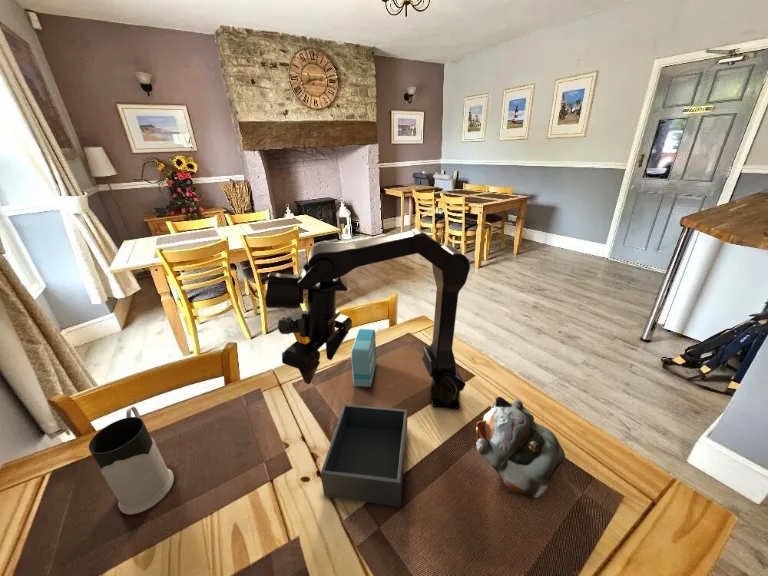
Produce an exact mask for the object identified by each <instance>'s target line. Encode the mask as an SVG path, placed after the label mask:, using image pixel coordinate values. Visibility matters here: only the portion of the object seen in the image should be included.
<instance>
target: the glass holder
mask: <svg viewBox="0 0 768 576" xmlns="http://www.w3.org/2000/svg"><path fill="white" fill-rule="evenodd" d="M132 413H133V415H134V416H132ZM125 415H126V416H125V418H120V419H118V420H116V421H114V422H111V423H110V424H108V425H106V426H105V427H103V428H102V429H101V430H99V431H98V432H97V433H96V434H95V435H94V436H93V437H92V438H91V440H90V441H89V443H88V451H89V452H90V454H91V455H92V457H93V459H94V460H95V462H96V464H97V466H98V470H99V472H100V473H101V475H102V477H103V478H104V479H105V481H106V483H107V485H108V486H109V487H110V489H111V491H112V492H113V494H114V496H115V497H116V499H117V501H118V508H119V511H120V512H121V513H123V514H124V515H136V514H139V513H142V512H146V511H147V510H149V509H151V508H152V507H154V506H155V505H156V504H158V503H159V502H160V501H162V499H164V497H165V496H166V495H167V494H168V493H169V491H170V490H171V488H172V486H173V484H174V481H175V476H174V473H173V471H172V470H171V469H170V468H168V467H167V465H166V463H165V461H164V458H163V456H162V454H161V452H160V450H159V448H158V446H157V444H156V441H155V440H154V437H152V436H151V434H150V433H149V430H148V428H147V426H146V424H145V422H144V420H143V419H142V418H141V416H140V413H139V411H138V409H137V407H136V406H133V405H132V406H129V407H128V408H127V410H126V414H125Z"/></svg>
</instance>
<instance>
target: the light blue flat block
mask: <svg viewBox="0 0 768 576" xmlns="http://www.w3.org/2000/svg"><path fill="white" fill-rule="evenodd" d="M376 345H377V343H376V330H375V329H372V328H371V329H369V328H359V329H358V330H357V333H356V337H355V339H354V342H353V345H352V348H351V352H350V353H351V354H350V355H351V357H350V359H351V369H352V381H353V386H354V387H362V388H372V384H373V379H374V375H375V369H376V366H377V365H376V364H377V346H376Z"/></svg>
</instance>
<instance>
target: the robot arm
mask: <svg viewBox="0 0 768 576" xmlns="http://www.w3.org/2000/svg"><path fill="white" fill-rule="evenodd" d="M416 254H418V255H420V256H421V257H422V258H424V259H425V260H427V261H428V262H430V263H431V267H432V273H433V278H434V282H435V286H436V293H435V294H436V295H435V306H434V318H433V319H434V320H433V331H432V342H431V344H430V345H429V346H423V348H422V350H423V356H422V358H421V360H422V362H423V364H424V367H425V368H426V371H427V373H428V375H429V377H430V378H431V379H432V380H431V382H430V400H431V401H432V408H434V409H435V408H436V409H446V410H447V409H448V410H460V409H461V408H460V407H461V406H460V396H461V395H460V393H461V392H462V391H463V390H464V389H465V387H466V385H467V384H466V382H465V380H464V379H463V377H462V375H461V373H460V372H459V370H458V369H457V362H456V358H455V354H454V351H453V345H454V336H455V328H456V320H457V309H458V301H459V293H460V292H461V290H462V289H463V287H464V286H465V284H466V283H467V279H468V276H469V273H470V269H471V262H470V260H469V259H468V257H467V256H466V255H464V253H462V252H461V251H459V249H457V248H456V247H454V246H452V245H450V244H444V245H442V244H441V243H440V242H438V241H436V240H435V239H433V238H432V237H431V236H429V235H428V234H427V233H425V231H423V230H422V229H420V228H413V229H411V230H409V231H405V232H404V231H403V232H400V233H396V234H395V233H394V234H390V235H385V236H381V237H377V238H373V239H368V240H364V241H360V242H355V243H346V242H345V243H344V242H325V243H323V242H322V243H318V244H315V245H314V246H313V247H312V248H311V249H310V251H309V254H308V259H307V261H306V262H305V263H304V264H303V266H302V267H301V268H300V269H299V271H298V274H291V273H279V272H269V273H268V275H267V285H266V294H265V295H264V296H265V308H266V309H284V310H285V309H287V310H288V309H291V310H292V309H295V310H296V311H292V312H290V313H289V314H287V315H285V316H282V317H281V318H280V319H278V322H277V329H278V332H279V333H280V334H281V335H291V334H298V333H299V337H301V338H304V339H305V338H306V337H307V340H309V341H308V342H307V343H304V342H300V341H295V342H293V343H292V344H290V345H289V346H288V347H287V348H285V350H283V351H282V352H281V362H282V364H284V365H286V366H289V367H292V368H295V369H298V371H299V373H300V375H301V377H302V379H303V381H304V383H305V384H307V385H310V384H311V383H312V381H313V379H314V376H315V375H316V373H317V370H318V369H319V366H320V363H321V361H320V360H321V359H320V358H321V352H320V351H319V350H320V349H321V348H322V347H323V346H324V345H325V354H326V359H327V360H329V361H332V360H333V359H334V357H335V355H336V353H337V352H338V350H339V348H340V347H341V346H342V344H343V342H344V340H345V339H346V337H347V335H348V334H349V331H350V330H351V329H352V328H353V327H352V325H353V320H352V319H351V317H350V316H348V315H346V314H345V315H344V314H341V311H340V310H338V309H337V301H338V292H347V291H348V283H347V281H346V280H345V279H343V276H346V275H347V274H349V273H350V272H352V271H353V270H355V269H357V268H360V267H364V266H369V265H372V264H377V263H381V262H384V261H389V260H390V261H391V260H395V259H399V258H402V257H408V256H411V255H416ZM306 290H307V294H306V295H307V300H306V301H307V303H306V308H307V309H306V310H298V311H297V309H299V308H301V304H302V305H303V304H304V303H305V291H306Z"/></svg>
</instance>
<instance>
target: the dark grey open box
mask: <svg viewBox="0 0 768 576" xmlns="http://www.w3.org/2000/svg"><path fill="white" fill-rule="evenodd" d="M336 423H337V424H336V426H335V430H334V431H333V435H332V438H331V441H330V444H329V447H328V450H327V453H326V456H325V459H324V461H323V465H322V467H321V470H320V478H321V484H322V490H323V497H326V498H332V499H340V500H341V499H342V500H348V501H355V502H363V503H368V504H369V503H370V504H378V505H386V506H392V507H399V508H400V507H402V494H403V483H404V473H405V460H406V449H407V438H408V409H399V408H389V407H379V406H366V405H356V404H343V406H342V409H341V412H340V415H339V417H338V420H337V422H336Z"/></svg>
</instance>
